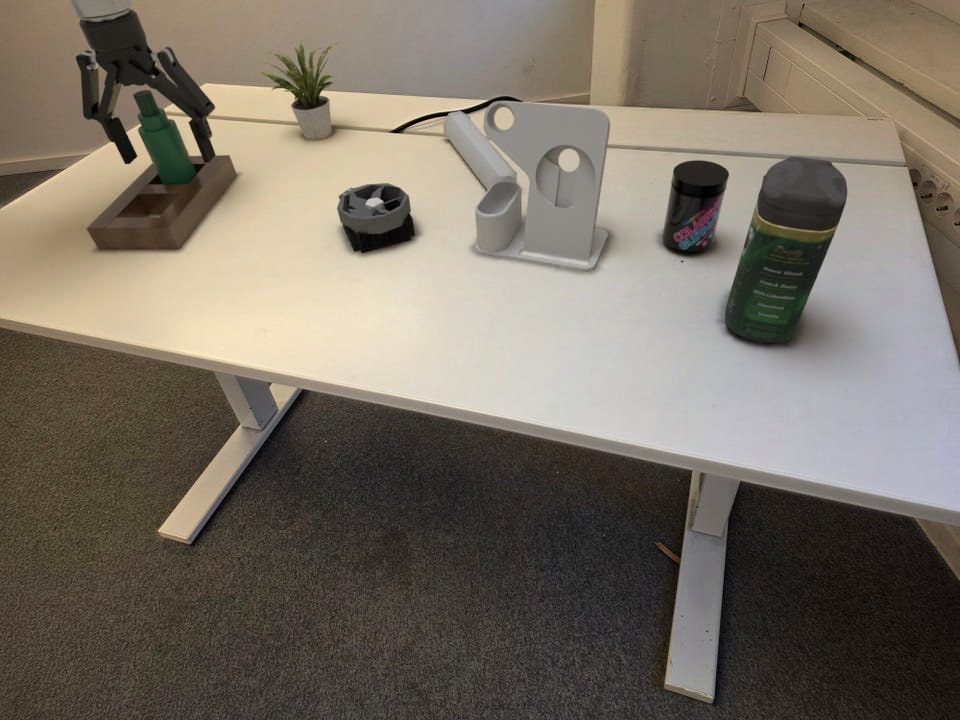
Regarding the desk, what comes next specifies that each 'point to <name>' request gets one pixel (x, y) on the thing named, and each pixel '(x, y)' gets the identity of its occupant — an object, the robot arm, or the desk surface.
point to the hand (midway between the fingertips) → (170, 159)
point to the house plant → (307, 94)
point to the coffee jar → (785, 248)
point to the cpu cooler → (375, 216)
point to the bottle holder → (161, 208)
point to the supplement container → (694, 206)
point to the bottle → (163, 141)
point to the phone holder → (546, 186)
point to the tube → (477, 150)
